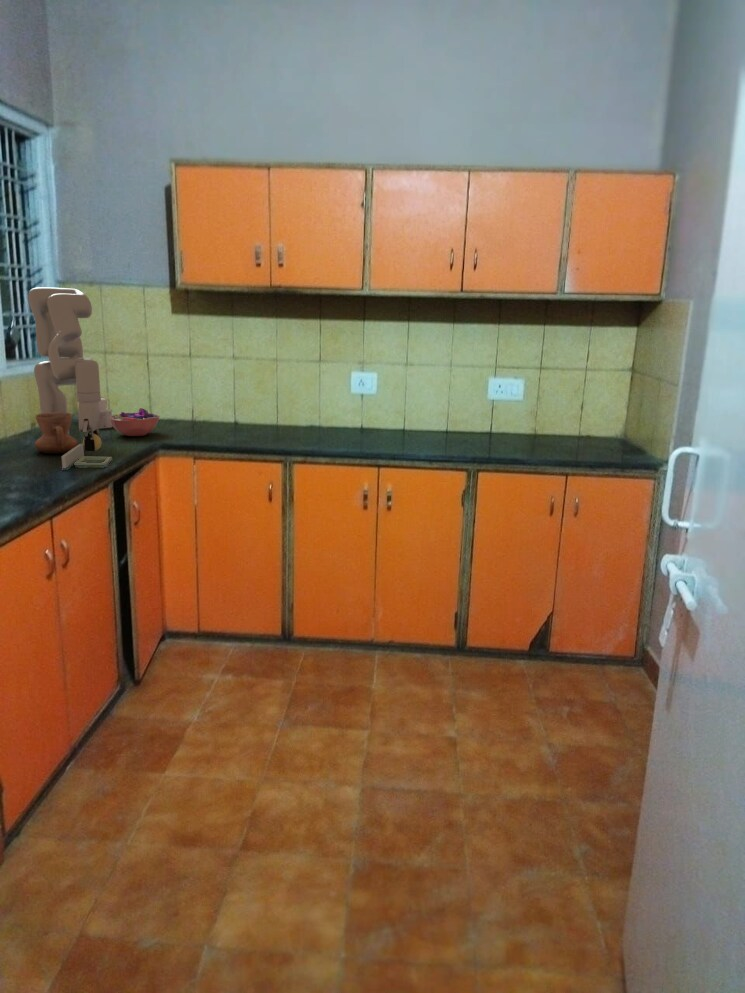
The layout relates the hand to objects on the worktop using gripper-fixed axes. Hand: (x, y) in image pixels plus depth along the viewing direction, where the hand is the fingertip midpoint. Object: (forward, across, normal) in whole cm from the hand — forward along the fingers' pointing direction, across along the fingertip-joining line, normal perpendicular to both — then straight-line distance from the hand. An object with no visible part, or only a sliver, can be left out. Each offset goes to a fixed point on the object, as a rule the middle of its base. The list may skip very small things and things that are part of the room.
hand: (92, 448), depth 238 cm
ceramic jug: (+6, -18, -18) cm, 26 cm away
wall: (+6, -1, -7) cm, 9 cm away
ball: (-2, 0, 0) cm, 2 cm away
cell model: (+6, -52, +3) cm, 53 cm away
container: (+6, -69, -16) cm, 71 cm away
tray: (+6, 0, 0) cm, 6 cm away
